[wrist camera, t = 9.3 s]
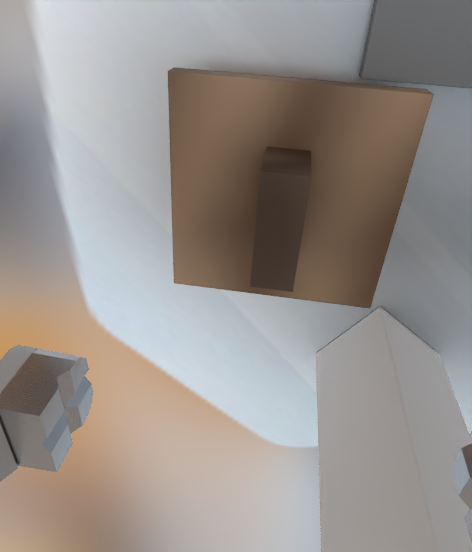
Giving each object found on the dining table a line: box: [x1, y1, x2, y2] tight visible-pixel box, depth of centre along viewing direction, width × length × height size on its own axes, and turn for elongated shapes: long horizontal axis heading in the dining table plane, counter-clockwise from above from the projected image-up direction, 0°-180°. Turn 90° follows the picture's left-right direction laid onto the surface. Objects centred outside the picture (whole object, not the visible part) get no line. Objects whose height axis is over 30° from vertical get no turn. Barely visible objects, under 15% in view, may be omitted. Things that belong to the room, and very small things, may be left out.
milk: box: [316, 307, 472, 552], centre depth 21 cm, size 6×6×22 cm
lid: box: [168, 68, 433, 308], centre depth 18 cm, size 10×10×4 cm
